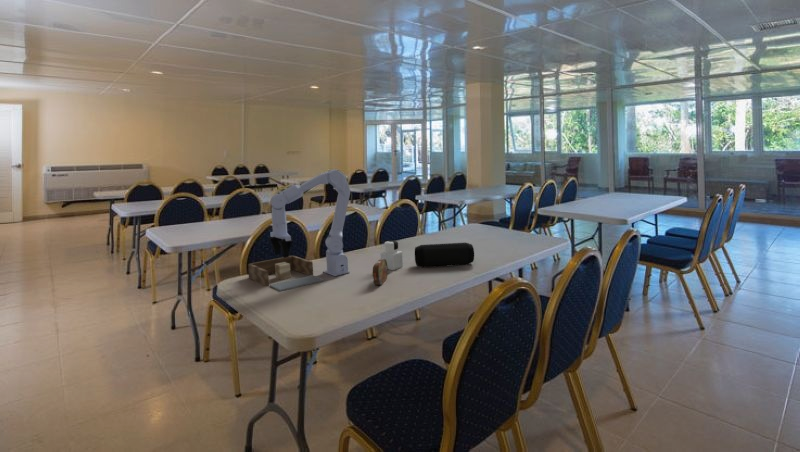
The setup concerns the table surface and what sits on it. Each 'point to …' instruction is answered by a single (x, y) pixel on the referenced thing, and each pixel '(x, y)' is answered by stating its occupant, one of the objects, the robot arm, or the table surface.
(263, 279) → the wooden u-shaped frame
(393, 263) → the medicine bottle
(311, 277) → the mat
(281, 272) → the block
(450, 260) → the portable speaker
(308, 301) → the table surface
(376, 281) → the tin
